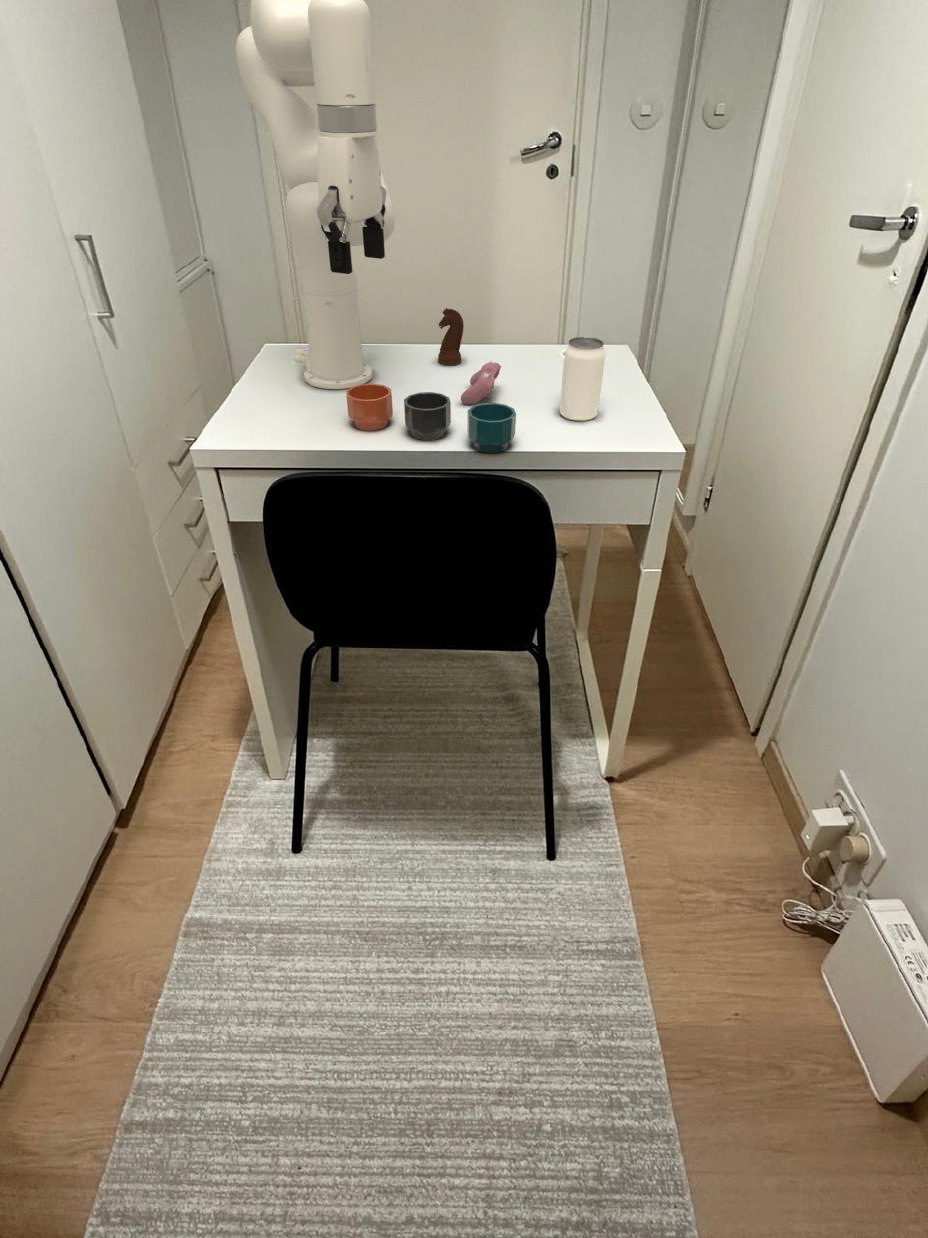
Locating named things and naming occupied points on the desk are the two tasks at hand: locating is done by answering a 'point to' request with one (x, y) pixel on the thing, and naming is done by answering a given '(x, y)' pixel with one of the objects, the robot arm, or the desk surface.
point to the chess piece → (451, 338)
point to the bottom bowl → (427, 415)
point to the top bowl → (491, 426)
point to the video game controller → (481, 383)
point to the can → (582, 378)
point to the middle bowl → (369, 406)
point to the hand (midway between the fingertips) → (358, 264)
